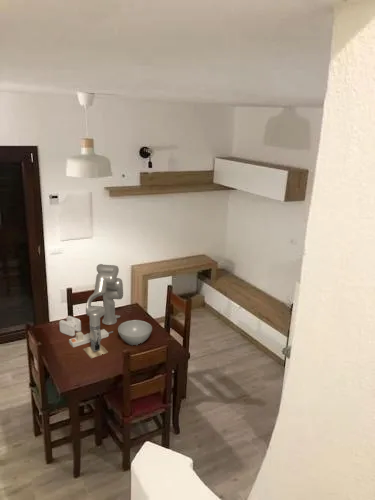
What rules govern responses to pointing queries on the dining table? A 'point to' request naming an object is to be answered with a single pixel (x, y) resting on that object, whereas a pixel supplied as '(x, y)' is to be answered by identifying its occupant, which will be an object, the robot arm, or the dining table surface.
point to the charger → (94, 346)
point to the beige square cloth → (96, 353)
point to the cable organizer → (70, 326)
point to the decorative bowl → (134, 331)
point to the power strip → (86, 338)
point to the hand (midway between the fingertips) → (95, 347)
